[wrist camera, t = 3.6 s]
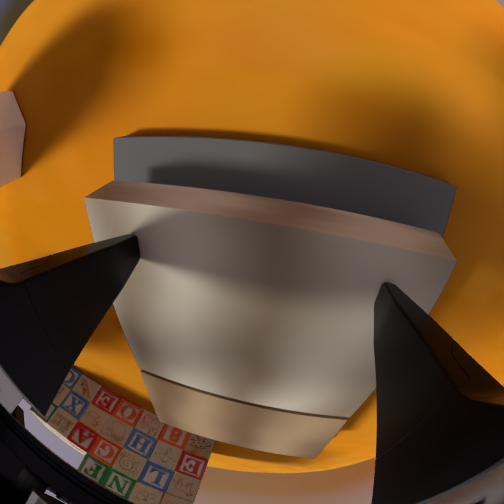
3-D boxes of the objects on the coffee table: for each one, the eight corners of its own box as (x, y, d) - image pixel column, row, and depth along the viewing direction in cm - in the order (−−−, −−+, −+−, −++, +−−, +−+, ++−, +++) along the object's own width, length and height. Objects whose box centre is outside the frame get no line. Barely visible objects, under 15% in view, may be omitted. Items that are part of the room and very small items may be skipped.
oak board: (167, 405, 22) (159, 421, 20) (153, 352, 18) (140, 371, 16) (316, 440, 19) (314, 458, 18) (347, 396, 16) (347, 420, 14)
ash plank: (151, 347, 18) (139, 368, 16) (113, 180, 11) (84, 197, 9) (350, 391, 15) (349, 417, 14) (438, 233, 9) (457, 261, 7)
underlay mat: (165, 402, 23) (161, 409, 22) (125, 136, 12) (113, 138, 11) (322, 438, 21) (321, 446, 20) (447, 182, 10) (456, 187, 9)
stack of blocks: (76, 383, 30) (35, 440, 19) (66, 360, 27) (16, 423, 16) (210, 451, 28) (181, 524, 18) (218, 438, 25) (184, 526, 15)
